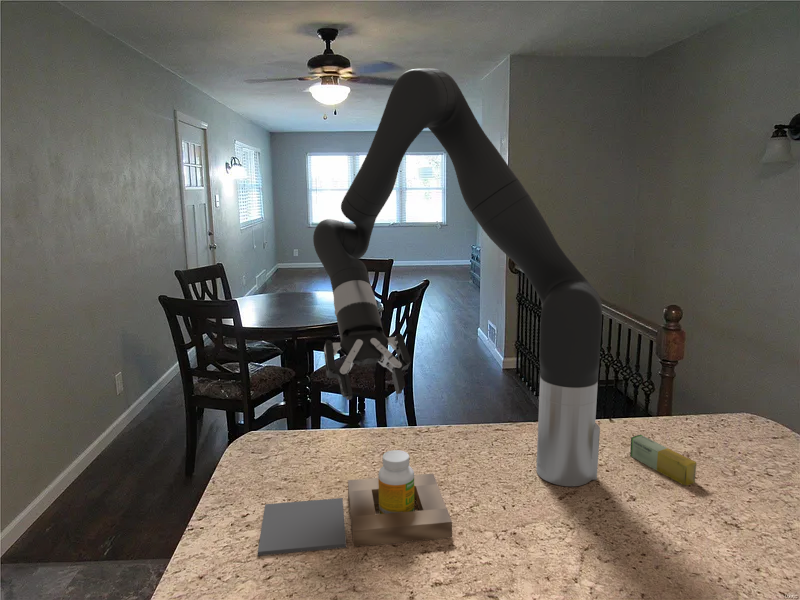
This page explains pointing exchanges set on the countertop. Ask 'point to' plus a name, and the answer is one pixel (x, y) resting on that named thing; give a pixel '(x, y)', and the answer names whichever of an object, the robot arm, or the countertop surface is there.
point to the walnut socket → (398, 514)
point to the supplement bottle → (396, 483)
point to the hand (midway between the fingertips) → (375, 394)
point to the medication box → (663, 459)
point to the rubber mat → (302, 526)
